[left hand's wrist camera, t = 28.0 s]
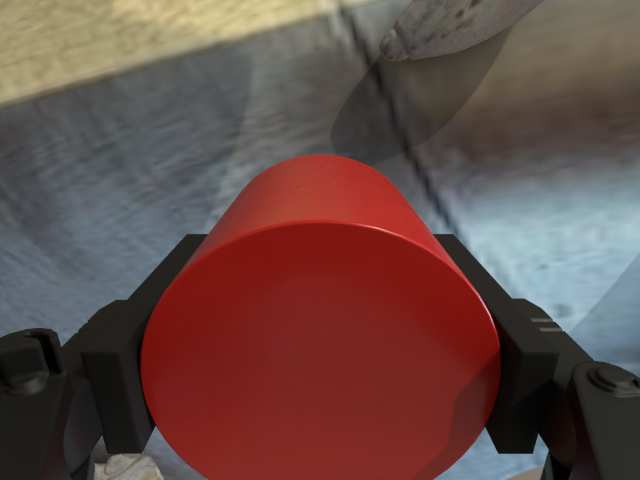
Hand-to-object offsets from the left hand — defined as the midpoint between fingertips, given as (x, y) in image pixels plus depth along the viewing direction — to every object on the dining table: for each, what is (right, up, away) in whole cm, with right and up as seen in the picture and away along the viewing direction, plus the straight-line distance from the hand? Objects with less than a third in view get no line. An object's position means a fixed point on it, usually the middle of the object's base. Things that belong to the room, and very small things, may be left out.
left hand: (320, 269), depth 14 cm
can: (0, +1, +2) cm, 2 cm away
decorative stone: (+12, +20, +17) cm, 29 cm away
